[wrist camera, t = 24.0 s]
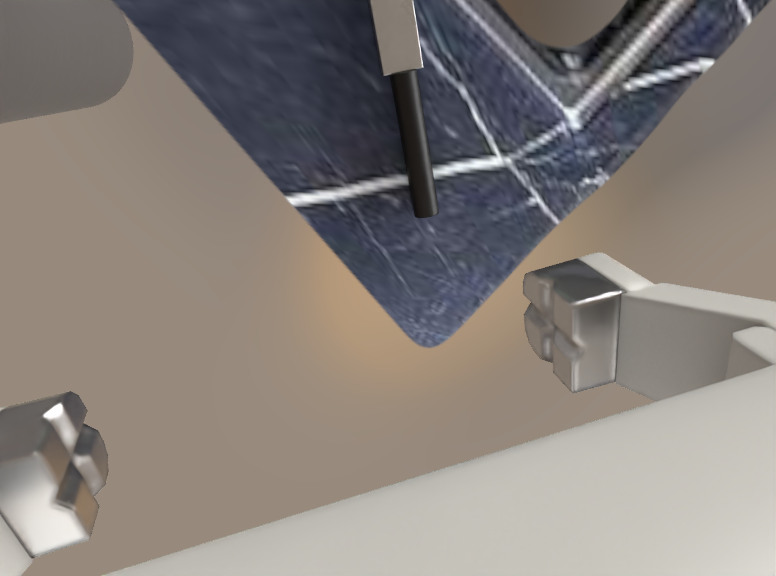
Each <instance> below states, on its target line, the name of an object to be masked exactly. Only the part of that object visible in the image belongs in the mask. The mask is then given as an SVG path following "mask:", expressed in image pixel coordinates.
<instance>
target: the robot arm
mask: <svg viewBox="0 0 776 576" xmlns="http://www.w3.org/2000/svg"><path fill="white" fill-rule="evenodd" d="M523 294H524V295H525V296H526V297H527V298H528V299H529V300H530V301H531V303H530V305H529V307H528V308H527V310H526V312H525V314H524V321H525V330H526V334H527V337H528V340H529V343H530V345H531V347H532V348H533V350H534V352H535V353H536V354H537V355H538V356H539V358H540V359H542V360H545V361H548V362H552V363H553V373H554V374H555V375H556V376H557V377H558V378H559V379H560V380H561V381H562V383H563V384H564V385H565V386H566V387H567V388H568V389H569V390H570V391H571V392H572V393H576V392H580V391H583V390H587V389H591V388H594V387H598V386H602V385H605V384H609V383H613V382H616V384H618V385H620V386H622V387H625V388H627V389H629V390H631V391H634V392H636V393H638V394H641V395H643V396H645V397H648V398H650V399H652V400H655V401H657V402H654V403H651V404H648V405H645V406H641V407H638V408H635V409H632V410H628V411H625V412H622V413H619V414H616V415H612V416H609V417H606V418H603V419H600V420H596V421H593V422H590V423H587V424H584V425H580V426H577V427H575V428H571V429H568V430H565V431H561V432H558V433H555V434H552V435H549V436H546V437H542V438H539V439H536V440H533V441H530V442H526V443H523V444H520V445H517V446H514V447H510V448H507V449H504V450H501V451H498V452H494V453H491V454H488V455H485V456H482V457H478V458H475V459H472V460H469V461H466V462H463V463H460V464H456V465H453V466H450V467H447V468H443V469H441V470H437V471H434V472H431V473H427V474H424V475H421V476H418V477H415V478H412V479H409V480H405V481H402V482H399V483H396V484H392V485H389V486H386V487H383V488H380V489H376V490H373V491H370V492H367V493H364V494H360V495H357V496H354V497H351V498H348V499H344V500H341V501H338V502H335V503H332V504H329V505H326V506H322V507H319V508H316V509H313V510H309V511H306V512H303V513H300V514H297V515H294V516H290V517H287V518H284V519H281V520H278V521H274V522H271V523H268V524H265V525H261V526H258V527H255V528H252V529H249V530H245V531H242V532H239V533H236V534H233V535H230V536H226V537H223V538H220V539H217V540H214V541H211V542H207V543H204V544H201V545H198V546H194V547H191V548H188V549H185V550H182V551H179V552H175V553H172V554H169V555H166V556H163V557H159V558H156V559H153V560H150V561H146V562H144V563H140V564H137V565H134V566H131V567H128V568H124V569H121V570H118V571H115V572H111V573H108V574H105V575H102V576H776V302H773V301H767V300H761V299H756V298H750V297H743V296H738V295H731V294H726V293H720V292H714V291H708V290H702V289H696V288H691V287H684V286H678V285H673V284H667V283H660V284H656V285H655V284H653V283H651V282H650V281H648V280H646V279H645V278H643V277H642V276H640V275H638V274H637V273H635V272H634V271H632V270H630V269H628V268H627V267H625V266H624V265H622V264H621V263H619V262H617V261H615V260H614V259H612V258H611V257H609V256H608V255H606V254H604V253H593V254H590V255H587V256H584V257H580V258H577V259H574V260H570V261H566V262H563V263H559V264H556V265H552V266H549V267H545V268H542V269H539V270H535V271H531V272H529V273H526V274H525V276H524V281H523ZM86 413H87V409H86V407H85V405H84V404H83V402H82V400H81V399H80V397H79V395H77V394H75V393H73V392H71V391H70V392H66V393H62V394H58V395H54V396H50V397H45V398H41V399H37V400H33V401H29V402H25V403H21V404H16V405H13V406H9V407H2V408H0V576H21V575H22V574H23V573H24V571H25V570H26V569H27V568H28V566H29V565H30V564H31V563H32V561H33V560H32V558H35V557H38V556H41V555H44V554H47V553H50V552H53V551H56V550H59V549H62V548H65V547H69V546H71V545H74V544H78V543H81V542H83V541H87V540H89V539H90V537H91V534H92V530H93V527H94V523H95V520H96V516H97V513H98V509H99V504H98V503H97V501H96V499H95V498H94V496H95V495H96V494H97V493H98V492H99V491H100V490H101V489H102V488H103V487H104V486H105V484H106V479H107V476H108V454H107V451H106V447H105V444H104V441H103V439H102V437H101V435H100V433H99V432H98V430H96V429H94V428H92V427H90V426H88V425H86V424H84V423H83V422H84V419H85V416H86Z"/></svg>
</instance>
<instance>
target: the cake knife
mask: <svg viewBox="0 0 776 576" xmlns="http://www.w3.org/2000/svg"><path fill="white" fill-rule="evenodd" d="M368 4H369V10H370V15H371V21H372V27H373V32H374V38H375V43H376V49H377V54H378V60H379V65H380V71H381V75H382V76H386V75H390V78H391V84H392V90H393V95H394V101H395V107H396V112H397V118H398V124H399V130H400V135H401V141H402V147H403V152H404V158H405V164H406V169H407V175H408V181H409V186H410V192H411V198H412V204H413V209H414V215H415V217H417V218H427V217H431V216H434V215H436V214H438V213H439V209H438V203H437V196H436V190H435V184H434V177H433V171H432V164H431V158H430V152H429V145H428V139H427V133H426V126H425V120H424V113H423V107H422V101H421V94H420V88H419V82H418V75H417V70H416V69H419V68H423V63H422V57H421V50H420V43H419V37H418V30H417V24H416V17H415V11H414V4H413V0H368Z"/></svg>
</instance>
